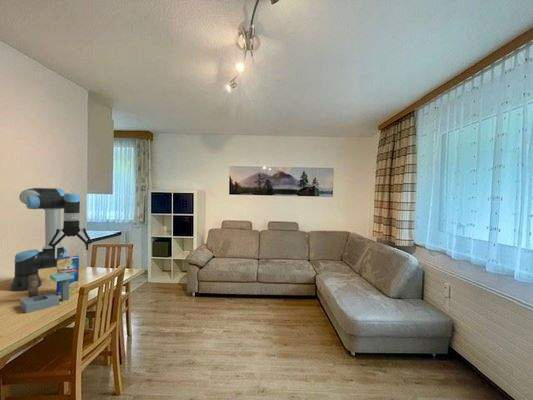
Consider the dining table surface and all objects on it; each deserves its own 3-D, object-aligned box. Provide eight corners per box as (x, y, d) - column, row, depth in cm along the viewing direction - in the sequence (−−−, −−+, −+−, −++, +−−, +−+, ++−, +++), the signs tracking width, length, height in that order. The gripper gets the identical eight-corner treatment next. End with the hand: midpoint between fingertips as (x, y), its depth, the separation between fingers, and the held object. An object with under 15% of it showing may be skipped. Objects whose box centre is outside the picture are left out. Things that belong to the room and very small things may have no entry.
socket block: (20, 306, 148) (20, 299, 148) (52, 299, 159) (52, 292, 159) (26, 313, 141) (26, 305, 141) (59, 304, 152) (59, 297, 152)
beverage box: (78, 292, 171) (79, 257, 171) (56, 296, 165) (56, 259, 164) (77, 289, 177) (78, 255, 176) (56, 292, 170) (57, 257, 170)
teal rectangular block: (49, 300, 157) (50, 274, 157) (65, 297, 163) (65, 272, 163) (54, 305, 152) (55, 278, 152) (70, 301, 158) (71, 275, 158)
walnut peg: (27, 299, 158) (27, 275, 157) (36, 297, 161) (37, 274, 161) (29, 301, 155) (29, 277, 155) (39, 299, 158) (39, 275, 158)
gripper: (43, 221, 147) (42, 260, 148) (97, 220, 161) (96, 256, 162) (44, 219, 153) (43, 257, 154) (96, 219, 168) (95, 253, 168)
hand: (70, 256), depth 158 cm, fingers open, 13 cm apart
